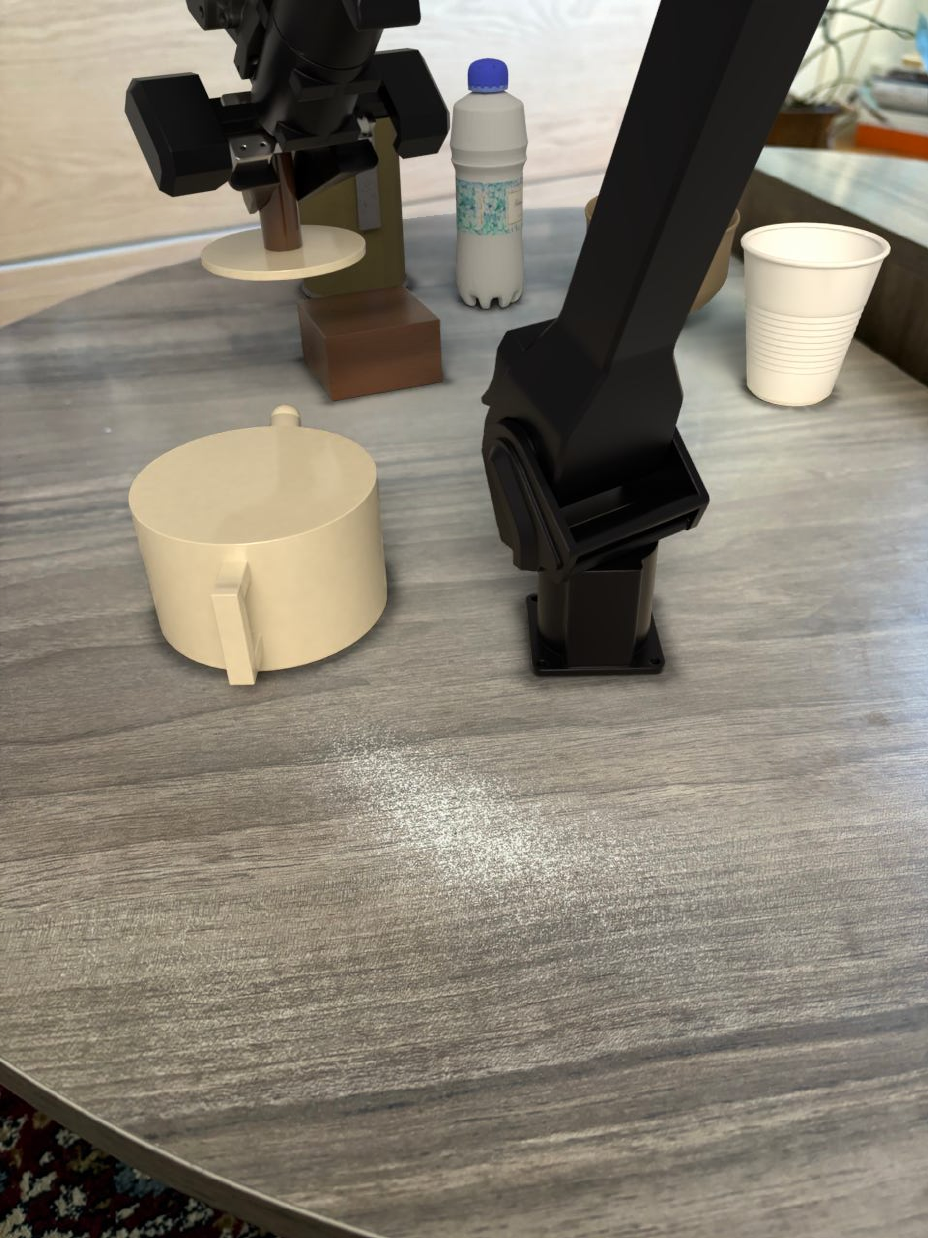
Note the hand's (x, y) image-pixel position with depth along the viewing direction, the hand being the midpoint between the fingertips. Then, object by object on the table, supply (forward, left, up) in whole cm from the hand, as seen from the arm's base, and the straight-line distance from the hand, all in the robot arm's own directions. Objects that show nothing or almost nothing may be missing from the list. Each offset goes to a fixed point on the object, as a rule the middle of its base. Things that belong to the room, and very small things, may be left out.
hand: (269, 203), depth 66 cm
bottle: (+23, -15, -15) cm, 31 cm away
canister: (+28, -2, -15) cm, 31 cm away
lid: (-1, -1, -3) cm, 3 cm away
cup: (+1, -37, -15) cm, 40 cm away
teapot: (-25, -2, -15) cm, 29 cm away
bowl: (+16, -29, -15) cm, 36 cm away
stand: (+7, -5, -15) cm, 17 cm away
